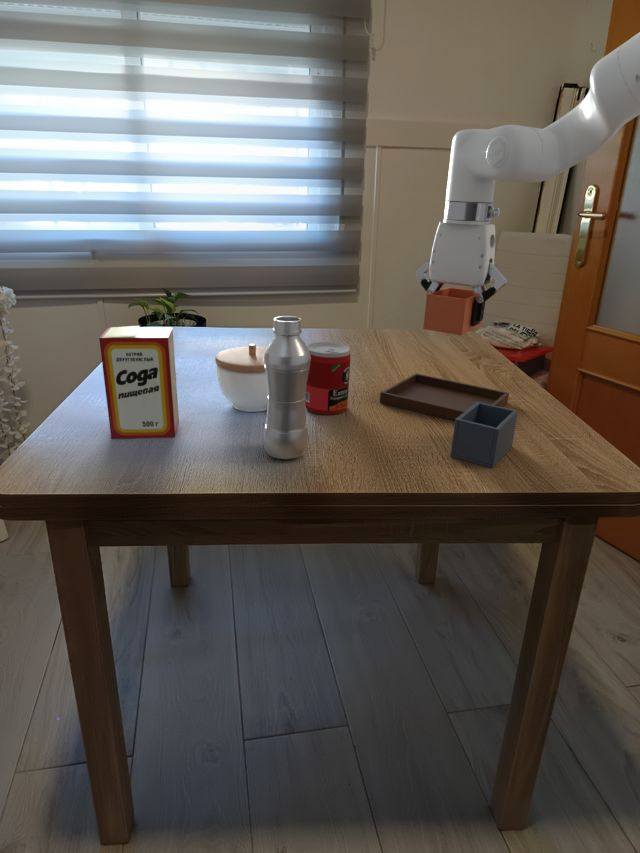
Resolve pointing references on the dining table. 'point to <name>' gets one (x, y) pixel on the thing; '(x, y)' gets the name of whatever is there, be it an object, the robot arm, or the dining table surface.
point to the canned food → (328, 378)
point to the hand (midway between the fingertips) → (453, 320)
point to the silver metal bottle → (286, 390)
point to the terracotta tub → (449, 311)
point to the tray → (439, 396)
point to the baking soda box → (140, 381)
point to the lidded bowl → (243, 377)
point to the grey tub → (483, 434)
